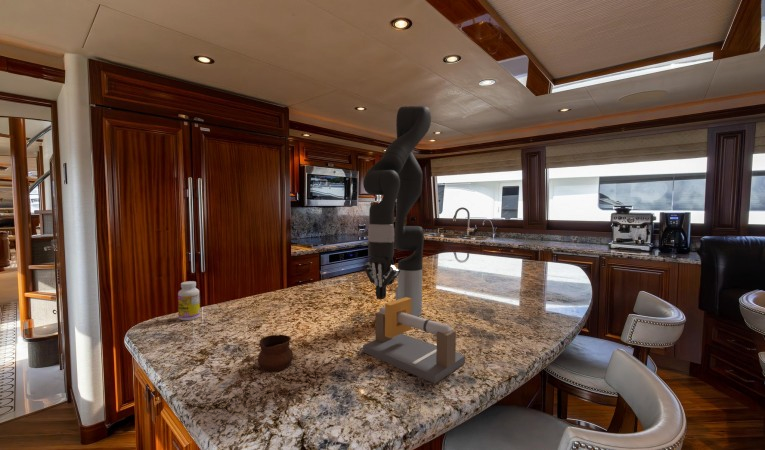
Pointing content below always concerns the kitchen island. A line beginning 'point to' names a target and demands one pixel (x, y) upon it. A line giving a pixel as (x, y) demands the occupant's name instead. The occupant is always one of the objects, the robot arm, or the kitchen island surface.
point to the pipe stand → (416, 348)
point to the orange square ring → (391, 316)
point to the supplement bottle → (188, 301)
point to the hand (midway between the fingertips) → (380, 298)
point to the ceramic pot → (274, 354)
